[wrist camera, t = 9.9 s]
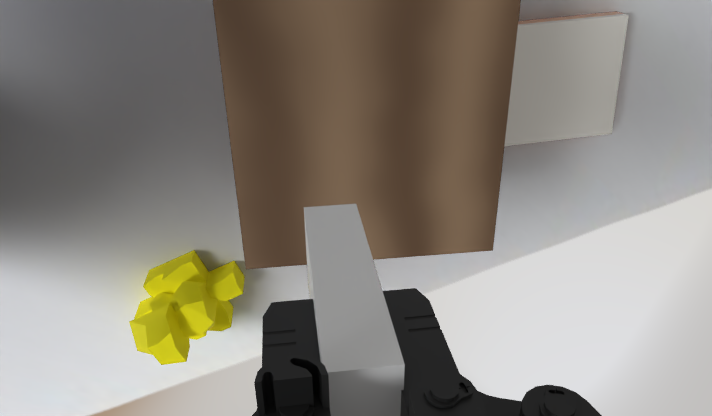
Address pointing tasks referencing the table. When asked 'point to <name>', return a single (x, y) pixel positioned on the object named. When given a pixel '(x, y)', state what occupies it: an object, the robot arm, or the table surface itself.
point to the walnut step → (367, 119)
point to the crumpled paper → (184, 306)
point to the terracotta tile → (565, 77)
